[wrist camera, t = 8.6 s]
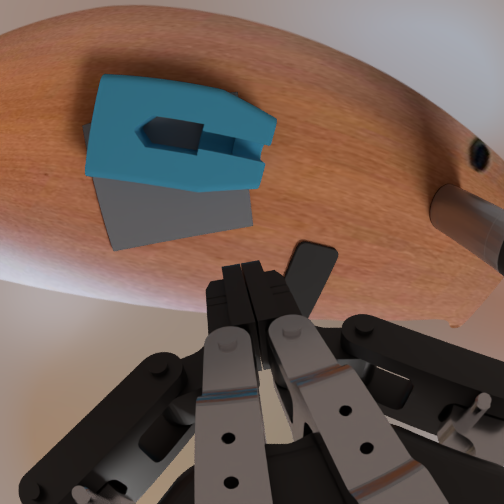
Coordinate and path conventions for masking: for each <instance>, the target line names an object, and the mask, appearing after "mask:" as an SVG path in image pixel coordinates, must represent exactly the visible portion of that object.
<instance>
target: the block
mask: <svg viewBox="0 0 504 504" xmlns="http://www.w3.org/2000/svg"><path fill="white" fill-rule="evenodd" d="M157 116H158V117H165V118H172V119H178V120H184V121H190V122H195V123H201V124H204V125H203V129H202V133H201V137H200V141H199V146H198V150H192V149H186V148H180V147H174V146H168V145H162V144H155V143H152V142H151V140H150V139H149V138H148V136H147V135H146V133H145V132H144V130H143V127H144V126H145V125H146V124H147V123H149V122H150V121H151V120H153V119H154V118H156V117H157ZM276 123H277V119H276V118H275V117H273V116H271V115H269V114H268V113H266V112H264V111H262V110H261V109H259V108H257V107H255V106H253V105H252V104H250V103H248V102H246V101H244V100H242V99H240V98H238V97H237V96H235V95H233V94H231V93H229V92H227V91H225V90H223V89H218V88H213V87H208V86H203V85H198V84H192V83H186V82H180V81H173V80H166V79H158V78H150V77H140V76H129V75H114V74H104V75H103V76H102V77H101V80H100V84H99V88H98V93H97V97H96V102H95V107H94V112H93V117H92V123H91V129H90V135H89V141H88V149H87V157H86V165H85V175H86V176H90V177H98V178H106V179H114V180H121V181H128V182H135V183H142V184H149V185H155V186H162V187H168V188H174V189H180V190H186V191H192V192H198V193H199V192H212V191H227V190H243V189H258V187H259V185H260V182H261V179H262V175H263V171H264V168H265V163H264V162H262V161H261V160H260V156H261V151H262V148H263V146H264V145H268V146H269V145H271V142H272V139H273V135H274V131H275V128H276Z"/></svg>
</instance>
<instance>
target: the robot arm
mask: <svg viewBox="0 0 504 504" xmlns="http://www.w3.org/2000/svg"><path fill="white" fill-rule="evenodd" d="M430 218H431V222H432V224H433V226H434V227H435V228H436V229H438V230H439V231H441V232H442V233H444V234H445V235H447V236H448V237H450V238H451V239H453V240H454V241H456V242H457V243H459V244H460V245H462V246H463V247H465V248H466V249H468V250H469V251H470V252H472V253H473V254H475V255H476V256H477V257H479V258H480V259H482V260H483V261H484V262H486V263H487V264H489V265H490V266H491V267H493V268H494V269H495V270H497V271H498V272H499V273H500V274H502V275H503V276H504V209H502V208H500V207H498V206H496V205H494V204H492V203H490V202H488V201H486V200H484V199H482V198H480V197H478V196H476V195H474V194H472V193H470V192H468V191H466V190H463V189H461V188H459V187H457V186H454V185H451V184H447V185H444V186H443V187H441V188H440V189H439V190H438V192H437V193H436V195H435V197H434V199H433V201H432V204H431V209H430ZM241 268H242V270H241ZM222 272H223V279H222V280H216V281H211V282H210V283H209V285H208V287H207V289H206V304H207V319H208V336H207V338H206V340H205V343H204V347H202V349H200V350H199V351H198V352H196V353H194V354H192V355H190V356H187V357H185V358H182V359H180V358H179V357H178V356H176V355H175V354H172V353H168V352H160V353H155V354H153V355H150V356H149V357H147V358H146V359H145V360H143V361H142V362H141V363H140V364H139V365H138V366H137V367H136V368H135V369H134V370H133V371H132V372H131V373H130V374H129V375H128V376H127V377H126V378H125V379H124V380H123V381H122V382H121V383H120V384H119V385H118V386H116V388H114V389H113V390H112V391H111V392H110V393H109V394H108V395H107V396H106V397H105V398H104V399H103V400H102V401H101V402H100V403H99V404H98V405H97V406H96V407H95V408H94V409H93V410H92V411H91V412H90V413H89V414H87V416H85V418H83V419H82V420H81V421H80V422H79V423H78V424H77V425H76V426H75V427H74V428H73V429H72V430H71V431H70V432H69V433H68V434H67V435H66V436H65V437H64V438H63V439H62V440H61V441H59V442H58V443H57V444H56V445H55V446H54V447H53V448H52V449H51V450H50V451H49V452H48V453H47V454H46V455H45V456H44V457H43V458H42V459H41V460H40V461H39V462H38V463H37V464H36V465H35V466H34V467H32V468H31V469H30V470H29V471H28V472H27V473H26V474H25V475H24V476H23V478H22V479H21V481H20V484H19V497H20V500H21V502H22V504H136V502H137V500H139V498H140V497H141V496H142V495H143V494H144V493H145V492H146V491H147V490H148V488H149V487H150V486H151V485H152V484H153V483H154V482H155V480H156V479H157V478H158V477H159V476H160V475H161V474H162V472H163V471H164V470H165V469H166V468H167V466H168V465H169V464H170V463H171V462H172V461H173V460H174V458H175V457H176V456H177V455H178V454H179V452H180V451H181V450H182V449H183V447H184V446H185V445H186V444H187V443H188V441H189V440H190V439H191V438H192V436H193V435H194V434H195V465H193V466H192V467H190V468H189V469H187V470H186V471H185V472H183V474H181V475H180V476H179V477H178V478H177V479H176V481H175V482H174V483H173V484H172V486H171V487H170V488H169V489H168V491H167V492H166V493H165V494H164V496H163V497H162V498H161V500H160V501H159V502H158V503H157V504H504V467H503V466H504V362H503V361H500V360H497V359H494V358H491V357H488V356H485V355H482V354H479V353H476V352H473V351H470V350H467V349H464V348H462V347H459V346H456V345H453V344H450V343H447V342H444V341H441V340H439V339H436V338H433V337H430V336H427V335H424V334H421V333H419V332H416V331H413V330H410V329H407V328H405V327H402V326H399V325H396V324H393V323H391V322H388V321H385V320H383V319H380V318H377V317H374V316H371V315H367V314H358V315H354V316H351V317H349V318H348V319H346V320H345V321H344V323H343V325H342V328H322V327H318V326H314V324H313V323H312V322H311V321H310V320H309V319H308V318H306V317H304V316H302V314H301V312H300V310H299V308H298V306H297V303H296V301H295V299H294V297H293V295H292V293H291V292H290V289H289V287H288V285H287V283H286V281H285V279H284V277H283V276H282V275H281V274H279V273H278V272H277V271H275V270H272V271H266V272H264V271H263V268H262V266H261V263H260V261H259V260H258V261H252V262H246V263H241V267H240V264H235V265H230V266H224V267H222ZM260 357H261V360H260ZM261 361H262V364H263V369H264V370H266V369H271V372H272V375H273V382H274V388H275V391H276V393H277V395H278V398H279V400H280V403H281V405H282V408H283V411H284V413H285V416H286V418H287V420H288V423H289V426H290V428H291V431H292V435H293V440H294V442H292V443H289V444H267V442H266V436H265V429H264V422H263V415H262V408H261V401H260V394H259V386H260V382H259V375H258V371H262V367H261ZM376 366H378V367H381V368H383V369H385V370H388V371H390V372H393V373H395V374H398V375H401V376H403V377H406V378H408V379H409V380H407V379H404V378H402V377H399V376H397V375H394V374H391V373H389V372H387V371H384V370H382V369H379V368H377V367H376ZM384 415H386V416H388V417H391V418H393V419H396V420H398V421H400V422H403V423H405V424H408V425H410V426H413V427H416V428H418V429H421V430H423V431H426V432H429V433H431V434H434V435H437V437H438V441H439V443H437V442H435V441H432V440H430V439H427V438H425V437H423V436H420V435H418V434H415V433H413V432H411V431H409V430H406V429H404V428H402V427H400V426H396V425H393V424H390V423H389V422H388V420H387V419H386V417H385V416H384Z"/></svg>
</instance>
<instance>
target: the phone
mask: <svg viewBox="0 0 504 504" xmlns="http://www.w3.org/2000/svg"><path fill="white" fill-rule="evenodd" d="M337 258H338V252H337V251H336V250H335V249H334V248H330V247H326V246H322V245H318V244H314V243H310V242H301V243H299V244H298V246H297V248H296V250H295V252H294V255H293V257H292V260H291V261H290V264H289V267H288V269H287V271H286V274H285V277H284V279H285V281H286V283H287V285H288V287H289V289H290V292H291V293H292V295H293V297H294V299H295V301H296V303H297V306H298V308H299V310H300V312H301V314H302V316H304V317H306V318H308V317H309V315H310V314H311V312H312V310H313V308H314V306H315V304H316V302H317V300H318V298H319V296H320V294H321V292H322V290H323V288H324V286H325V284H326V282H327V279H328V277H329V275H330V273H331V271H332V269H333V267H334V265H335V263H336V260H337Z"/></svg>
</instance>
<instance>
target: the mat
mask: <svg viewBox="0 0 504 504" xmlns="http://www.w3.org/2000/svg"><path fill="white" fill-rule="evenodd" d="M231 94H233V95H235V96H237V97H238V92H231ZM203 125H204V124H201V123H195V122H190V121H184V120H178V119H172V118H165V117H158V116H157V117H156V118H154V119H153V120H151V121H150V122H149V123H147V124H146V125H145V126H144V127H143V130H144V132H145V133H146V135H147V136H148V138H149V139H150V140H151V142H152V143H155V144H162V145H168V146H174V147H180V148H186V149H192V150H198V146H199V141H200V137H201V133H202V129H203ZM90 129H91V123H89V124H86V125H83V132H84V138H85V143H86V149H88V141H89V135H90ZM93 181H94V185H95V189H96V193H97V197H98V201H99V204H100V208H101V212H102V215H103V219H104V222H105V226H106V229H107V232H108V235H109V239H110V242H111V245H112V248H113V251H118V250H123V249H128V248H133V247H139V246H144V245H149V244H154V243H159V242H165V241H170V240H175V239H181V238H186V237H192V236H197V235H203V234H209V233H214V232H220V231H226V230H232V229H238V228H243V227H249V226H253V220H252V212H251V203H250V194H249V189H243V190H227V191H212V192H199V193H198V192H192V191H186V190H180V189H174V188H168V187H162V186H155V185H149V184H142V183H135V182H128V181H121V180H114V179H106V178H98V177H93Z"/></svg>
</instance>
